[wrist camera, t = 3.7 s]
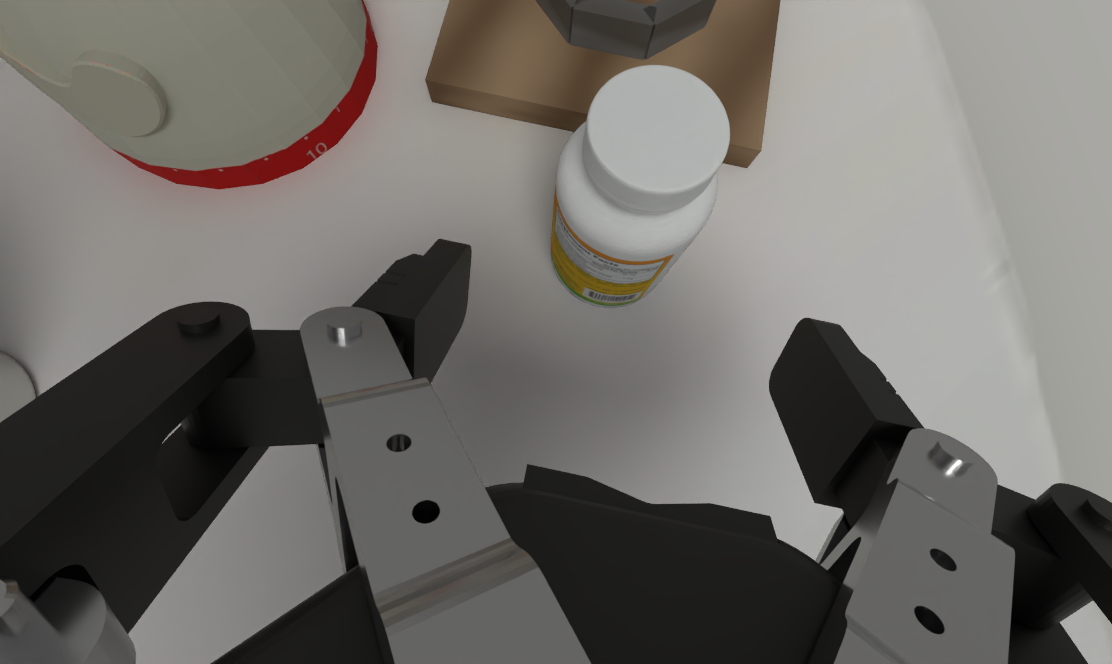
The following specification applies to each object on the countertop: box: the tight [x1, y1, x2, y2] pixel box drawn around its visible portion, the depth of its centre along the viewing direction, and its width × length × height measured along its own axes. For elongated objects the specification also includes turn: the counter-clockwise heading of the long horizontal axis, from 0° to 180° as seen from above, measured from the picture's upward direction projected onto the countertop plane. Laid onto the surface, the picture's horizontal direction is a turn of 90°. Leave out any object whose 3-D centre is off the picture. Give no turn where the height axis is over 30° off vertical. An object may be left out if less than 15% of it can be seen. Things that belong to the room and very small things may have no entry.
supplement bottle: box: [551, 65, 730, 308], centre depth 18 cm, size 5×5×10 cm
